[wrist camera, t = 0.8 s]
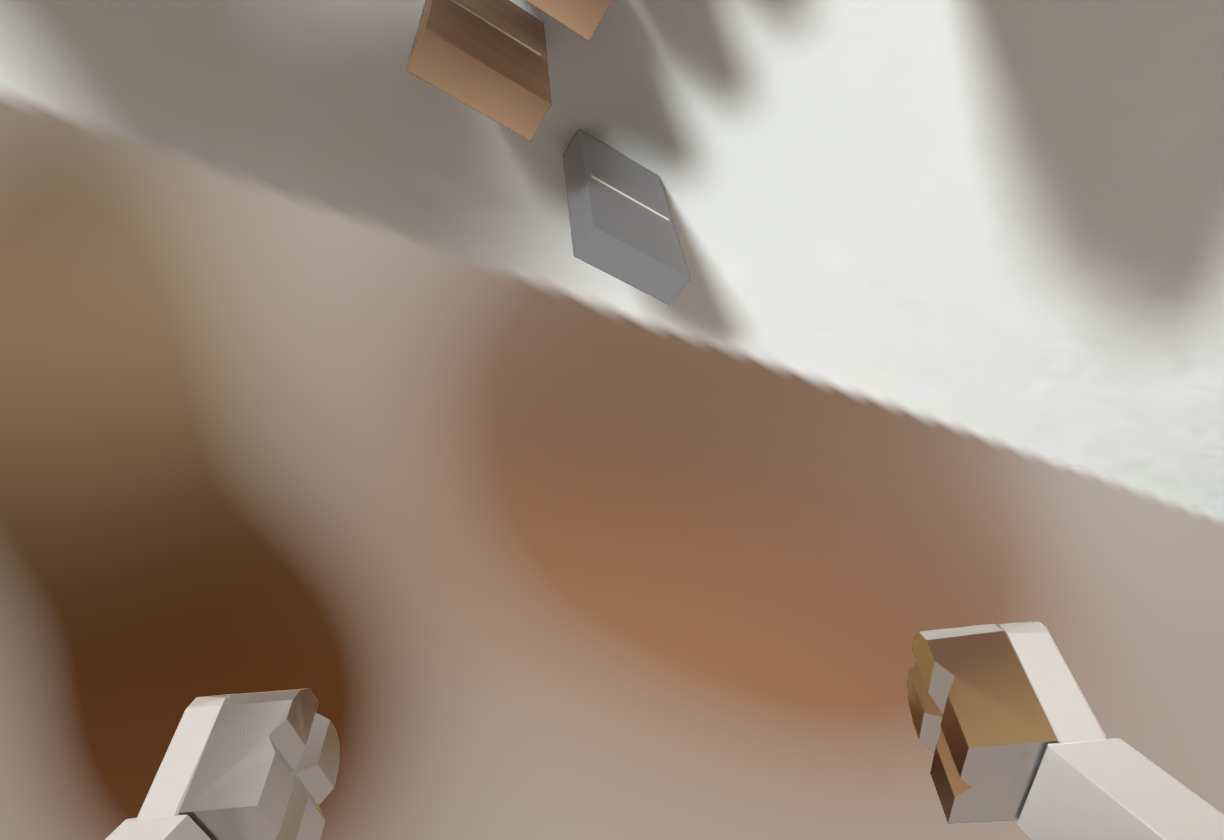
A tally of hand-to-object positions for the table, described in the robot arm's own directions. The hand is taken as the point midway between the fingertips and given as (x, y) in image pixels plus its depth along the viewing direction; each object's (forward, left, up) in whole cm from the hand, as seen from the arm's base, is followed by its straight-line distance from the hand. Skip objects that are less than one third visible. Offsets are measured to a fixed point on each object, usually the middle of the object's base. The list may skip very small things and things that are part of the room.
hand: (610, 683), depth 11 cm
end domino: (+7, -5, -34) cm, 35 cm away
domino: (-2, -2, -34) cm, 34 cm away
